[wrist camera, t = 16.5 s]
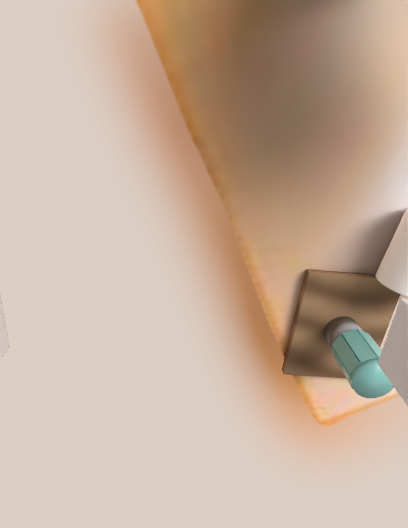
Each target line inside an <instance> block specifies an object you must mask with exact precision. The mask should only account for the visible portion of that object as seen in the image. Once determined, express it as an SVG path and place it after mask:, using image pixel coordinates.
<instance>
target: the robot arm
mask: <svg viewBox="0 0 408 528" xmlns="http://www.w3.org/2000/svg"><path fill="white" fill-rule="evenodd" d="M9 347H10V346H9V341H8V335H7V330H6V324H5V318H4V313H3V307H2V302H1V296H0V359H1V358H2V357H3V355H4V354H5V353H6V351H7V350H8V348H9ZM377 364H378V365H379V367H380V368H381V370H382V371H383V372H384V374H385V375H386V377H387V378H388V379H389V381H390V382H391V383H392V385H393V386H394V388H395V389H396V390H397V392H398V393H399V394H400V396H401V397H402V398H403V400H404V401H405V403H406V404H407V406H408V299H400V302H399V305H398V307H397V310H396V313H395V316H394V319H393V321H392V324H391V327H390V330H389V333H388V335H387V338H386V341H385V344H384V347H383V349H382V352H381V355H380V358H379V360H378V363H377Z"/></svg>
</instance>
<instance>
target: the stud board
mask: <svg viewBox="0 0 408 528" xmlns="http://www.w3.org/2000/svg"><path fill="white" fill-rule="evenodd" d="M399 296H400V294H399V293H396V292H394V291H392V290H391V289H389V288H387V287H386V286H384V285H383V284H381V283H380V282H379V281H378V280H377V278H376V275H369V274H357V273H345V272H333V271H322V270H310V269H307V271H306V275H305V279H304V283H303V287H302V291H301V295H300V299H299V303H298V307H297V311H296V315H295V319H294V323H293V327H292V331H291V335H290V339H289V343H288V347H287V351H286V355H285V359H284V363H283V367H282V371H283V374H288V375H304V376H320V377H337V378H346V377H345V375H344V373H343V372H342V370H341V368H340V366H339V365H338V363H337V361H336V359H335V358H334V355H333V351H332V344H333V342H334V341H335V340H336V338H337V337H338V336H339V335H340V334H342V333H343V332H346V331H350V330H353V329H356V330H357V329H359V330H361V331H363V332H366V333H368V334H369V335H370V336H371V337H372V338H373V340H374V341H375V342H376V344H377V345H378V346H379V347H380V346H381V343H382V341H383V338H384V335H385V333H386V330H387V328H388V325H389V322H390V320H391V317H392V314H393V312H394V309H395V306H396V304H397V301H398V299H399Z"/></svg>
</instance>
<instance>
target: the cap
mask: <svg viewBox="0 0 408 528" xmlns="http://www.w3.org/2000/svg"><path fill="white" fill-rule="evenodd" d="M332 351H333V355H334V358H335V359H336V361H337V363H338V365H339V366H340V368H341V370H342V372H343V373H344V375H345V377H346V378H347V380H348V382H349V384H350V385H351V387H352V388H353V389H354V390H355V391H356V393H357V394H358V395H360V396H362V397H365V398H376V397H380V396H383V395H385V394H387V393H388V392H390V391H391V390H392V389H393V388H394V386H393V385H392V383H391V382H390V381H389V379H388V378H387V377H386V375H385V374H384V372H383V371H382V370H381V368H380V367H379V365H378V364H377V363H378V360H379V358H380V355H381V352H382V350H381V349H380V347H379V346H378V345H377V344H376V342H375V341H374V340H373V338H372V337H371V336H370V335H369V334H368V333H366V332H363V331H361V330H359V329H357V330H356V329H353V330H350V331H346V332H343V333H342V334H340V335H339V336H338V337H337V338H336V340H335V341H334V342H333V344H332Z"/></svg>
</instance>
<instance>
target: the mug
mask: <svg viewBox="0 0 408 528" xmlns="http://www.w3.org/2000/svg"><path fill="white" fill-rule="evenodd" d="M376 278H377V280H378V281H379V282H380V283H381V284H383V285H384V286H386V287H387V288H389V289H391V290H392V291H394V292H396V293H399V294H401V295H403V296H406V297H408V208H407V209H406V211H405V213H404V215H403V217H402V219H401V221H400V223H399V225H398V228H397V230H396V232H395V234H394V236H393V238H392V240H391V243H390V245H389V247H388V249H387V251H386V253H385V255H384V258H383V260H382V262H381V264H380V266H379V268H378V270H377V273H376Z"/></svg>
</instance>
